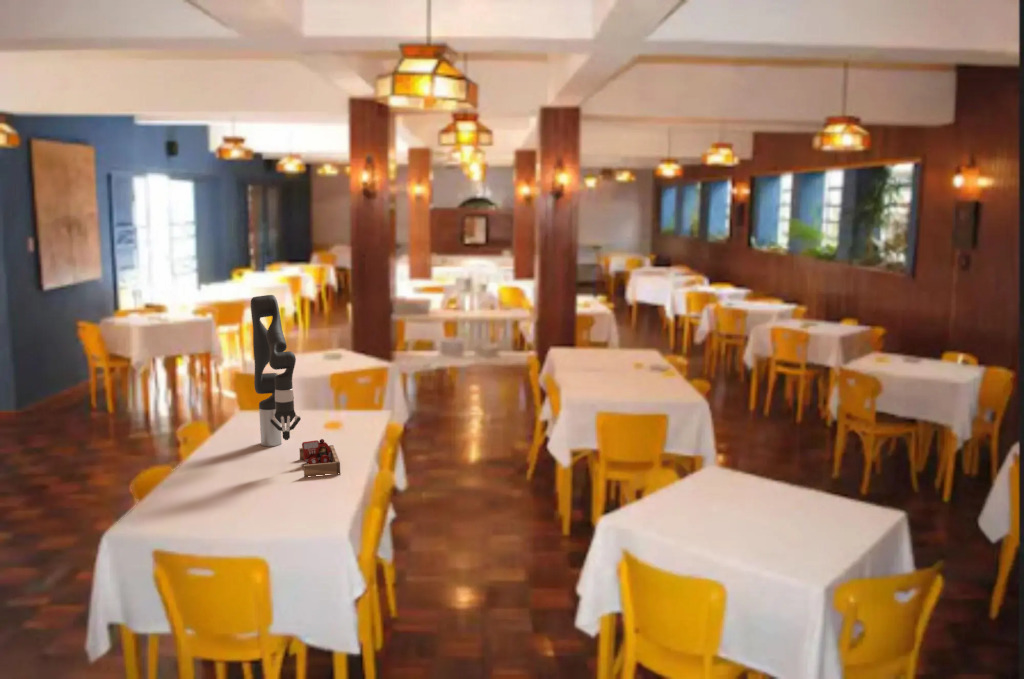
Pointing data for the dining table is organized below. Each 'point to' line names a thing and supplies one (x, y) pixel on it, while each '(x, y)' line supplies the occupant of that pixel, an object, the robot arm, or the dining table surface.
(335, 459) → the open wooden box
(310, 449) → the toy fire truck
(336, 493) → the dining table surface
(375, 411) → the dining table surface
